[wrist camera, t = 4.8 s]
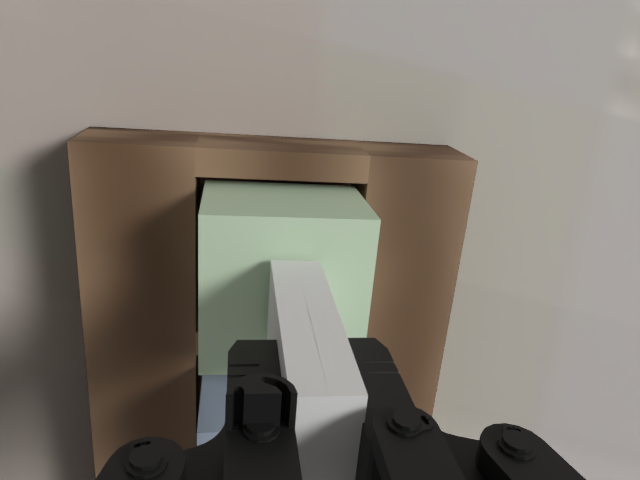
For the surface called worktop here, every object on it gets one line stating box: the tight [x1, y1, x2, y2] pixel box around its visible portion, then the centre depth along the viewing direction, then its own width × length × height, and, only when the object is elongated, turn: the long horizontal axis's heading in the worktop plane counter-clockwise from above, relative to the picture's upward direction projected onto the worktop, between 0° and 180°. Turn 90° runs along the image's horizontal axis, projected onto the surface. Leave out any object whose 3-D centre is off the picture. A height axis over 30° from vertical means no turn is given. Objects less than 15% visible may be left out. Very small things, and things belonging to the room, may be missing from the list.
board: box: [67, 127, 478, 478], centre depth 23 cm, size 14×22×3 cm, turn 175°
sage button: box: [198, 180, 381, 375], centre depth 19 cm, size 5×5×4 cm
